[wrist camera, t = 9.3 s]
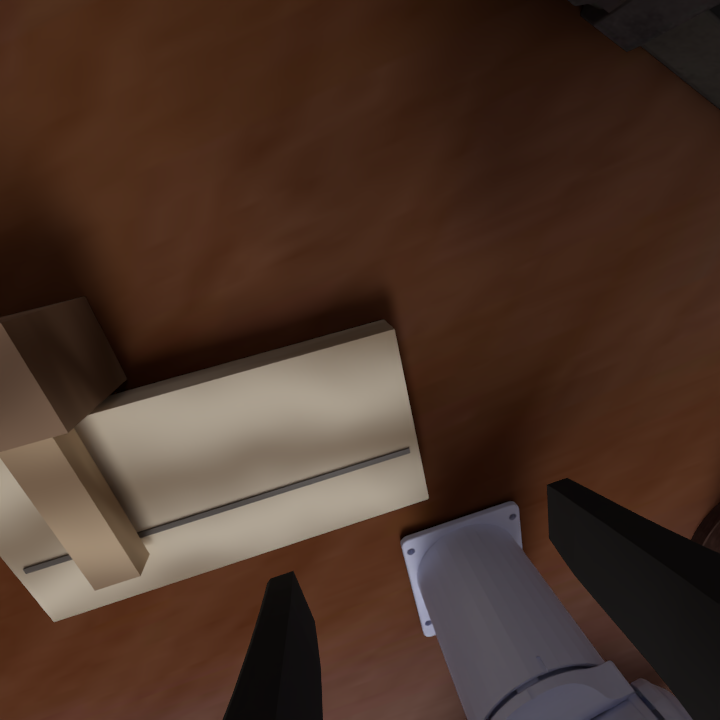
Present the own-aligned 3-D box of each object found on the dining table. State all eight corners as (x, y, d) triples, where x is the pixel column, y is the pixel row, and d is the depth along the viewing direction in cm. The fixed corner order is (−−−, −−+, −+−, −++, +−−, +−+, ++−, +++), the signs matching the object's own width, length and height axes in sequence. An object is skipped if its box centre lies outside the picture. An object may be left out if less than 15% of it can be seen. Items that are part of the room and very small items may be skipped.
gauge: (193, 508, 20) (158, 609, 15) (99, 537, 20) (29, 652, 14) (85, 295, 16) (-21, 329, 10) (-38, 326, 15) (-215, 378, 10)
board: (417, 476, 22) (429, 499, 20) (75, 586, 20) (52, 624, 18) (383, 319, 18) (395, 329, 16) (-36, 435, 17) (-80, 463, 15)
